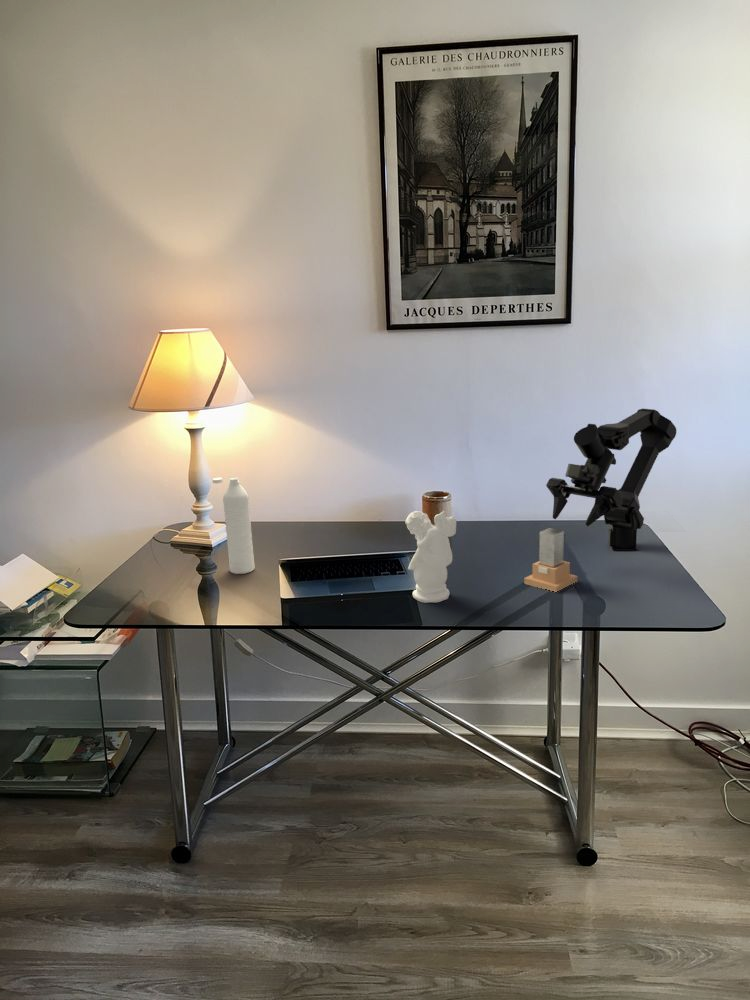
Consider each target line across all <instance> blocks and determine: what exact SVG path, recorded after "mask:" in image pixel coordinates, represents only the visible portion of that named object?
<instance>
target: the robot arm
mask: <svg viewBox="0 0 750 1000" xmlns="http://www.w3.org/2000/svg"><path fill="white" fill-rule="evenodd" d="M639 433H640V435H639V436H640V442H641V446H640V448H639V450H638V452H637V455H636V457H635V459H634V461H633V462H632V464H631V467H630V469H629V470H628V471H629V472H628V473H627V475H626V477H625V479H624V480H623V481H624V482H623V484H622V485H621V487H620V488H619V489H617V488H616V487H612V486H605V485H603V486H602V484H606V482H607V478H606V475H607V473H608V471H609V470H610V467H611V465H614V466H615V465H617V459H616V458H615V453H613V452H612V451H611V450H616V451H622V450H623V449H624V448H626V446H628V445H629V443H630V438H632V437H633V436H635V435H637V434H639ZM676 436H677V428H676V425H675V424H674V423H673V422H672V420H670V419H669V418H668V417H665V416H664V415H662V414H661V413H660V412H659V411H658V410H656V409H653V408H652V409H651V408H650V409H649V408H640V409H638V410H637V411H636V412H635V413H633V414H631V415H629V416H628V417H626V418H624V419H622V420H620V421H618V422H615V423H607V424H601V425H599V426H597V424H596V423H587V426H585V427H582V428H580V429H579V430H578V431H577V432H576V433H574V436H573V441H574V443H575V445H576V446H577V448H578V449H579V451H580V453H581V454H582V455H583V457H584V458H586V461H585V462H584V464H575V463H568V465H567V468H566V472H565V478H570V479H571V480H570V482H571V484H573V485H574V486H573V485H569V484H568V483H567V481H566V480H565V479H562V478H557V477H550V478H549V479H548V481H547V483H546V485H545V486H546V488H547V489H548V490H549V492H550V494H551V495H552V496H553V508H552V509H553V510H552V519H554V520H557V518H558V517H559V516H560V514H561V512H562V511H563V509H564V508H565V506H566V505H567V504H568V498H569V497H570V495H576V496H581V497H586V498H591V499H592V498H593V499H594V504H593V506H592V509H591V510H590V512H589V514H588V516H587V518H586V521H585V525H586V526H587V527H589V526H591V525H592V524H594V523H595V522H596V521H597V520H599V519H600V518H602V517H603V519H604V523H605V525H609V526H610V528H609V529H608V531H607V532H608V533H607V536H608V537H607V539H608V540H607V544H608V546H609V547H610V548H611V549H612V551H639V550H638V549H639V548H638V546H637V536H638V535H637V534H638V530H640V529H642V527H643V525H644V520H645V518H644V516H643V515H642V513H641V511H640V508H641V506H640V505H641V504H640V500H639V496H640V494H641V492H642V490H643V488H644V485H645V483H646V481H647V478H649V474H651V471H652V469H653V466H654V465H655V462H656V461H657V458H658V456H659V454H660V453H662V452H663V451H664V450H666V449H668V448H669V447H670V445H671V444H672V442H673V441H674V439H675V438H676Z"/></svg>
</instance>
